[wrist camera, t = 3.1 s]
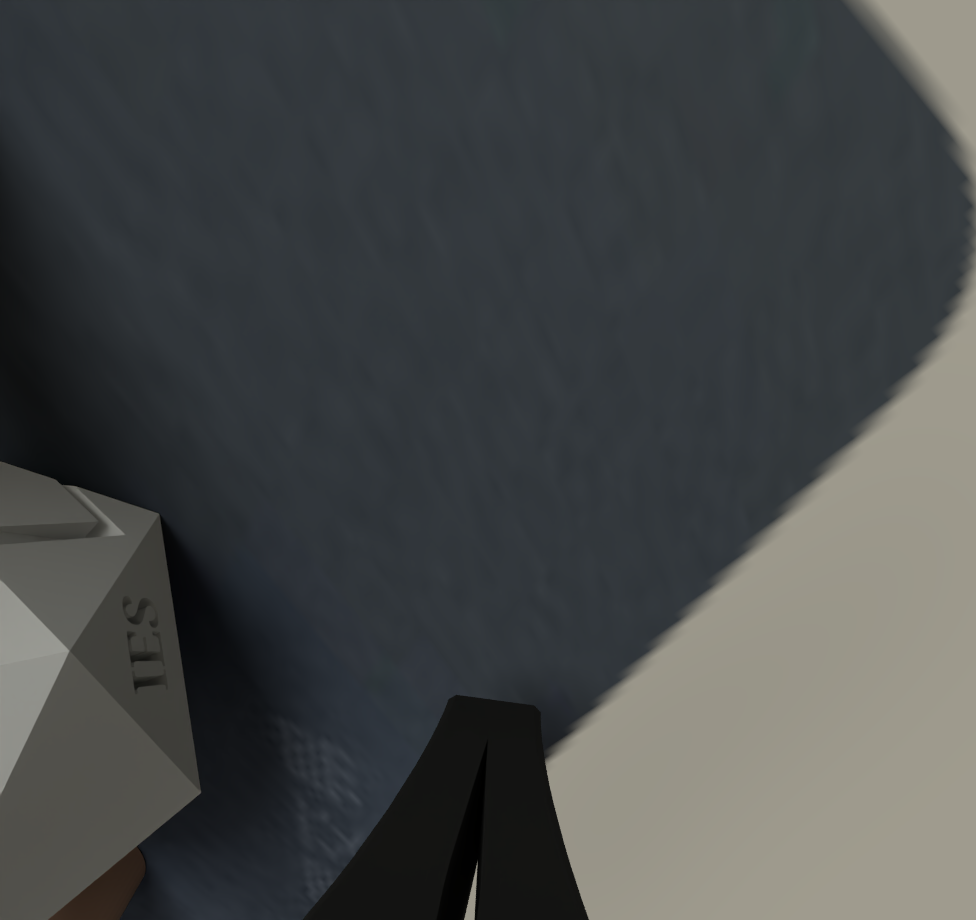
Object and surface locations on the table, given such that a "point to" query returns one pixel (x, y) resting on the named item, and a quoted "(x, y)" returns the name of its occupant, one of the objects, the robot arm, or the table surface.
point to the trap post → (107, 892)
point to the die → (83, 690)
